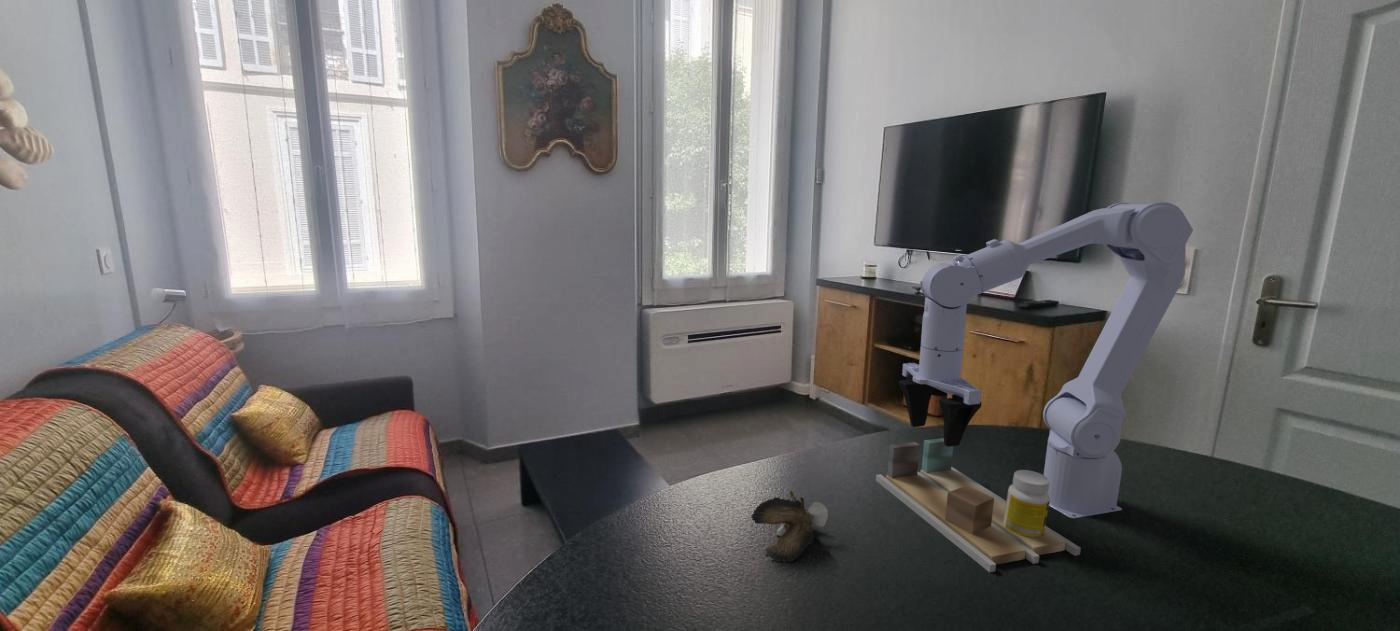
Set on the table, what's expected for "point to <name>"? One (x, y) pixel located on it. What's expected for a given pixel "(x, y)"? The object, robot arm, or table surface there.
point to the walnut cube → (969, 509)
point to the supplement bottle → (1027, 504)
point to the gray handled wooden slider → (944, 504)
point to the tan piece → (940, 473)
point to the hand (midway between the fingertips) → (934, 435)
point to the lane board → (958, 539)
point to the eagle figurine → (790, 525)
